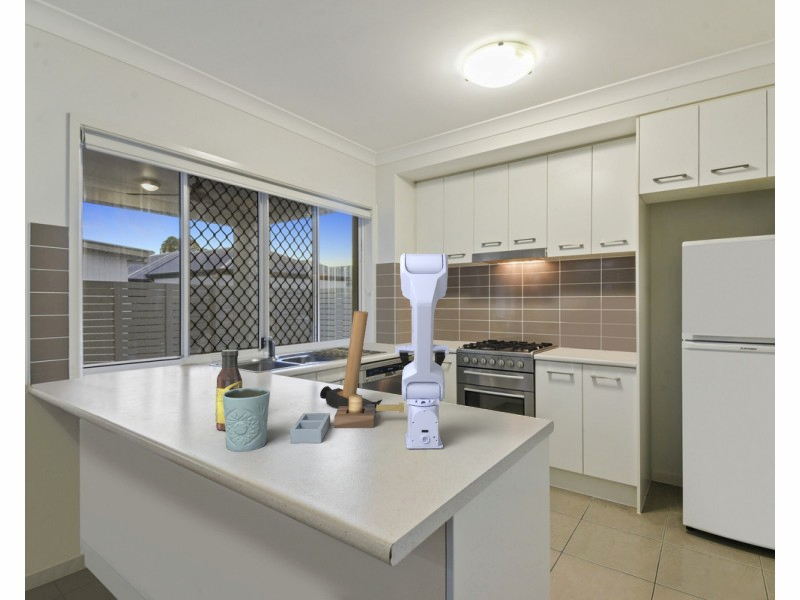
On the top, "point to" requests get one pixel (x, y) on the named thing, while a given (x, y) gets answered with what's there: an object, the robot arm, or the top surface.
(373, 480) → the top surface
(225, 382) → the sauce bottle
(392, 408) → the drift key
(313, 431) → the divided storage tray
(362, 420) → the socket block
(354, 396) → the dowel peg
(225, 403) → the teal embossed cup
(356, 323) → the hammer
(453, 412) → the top surface
